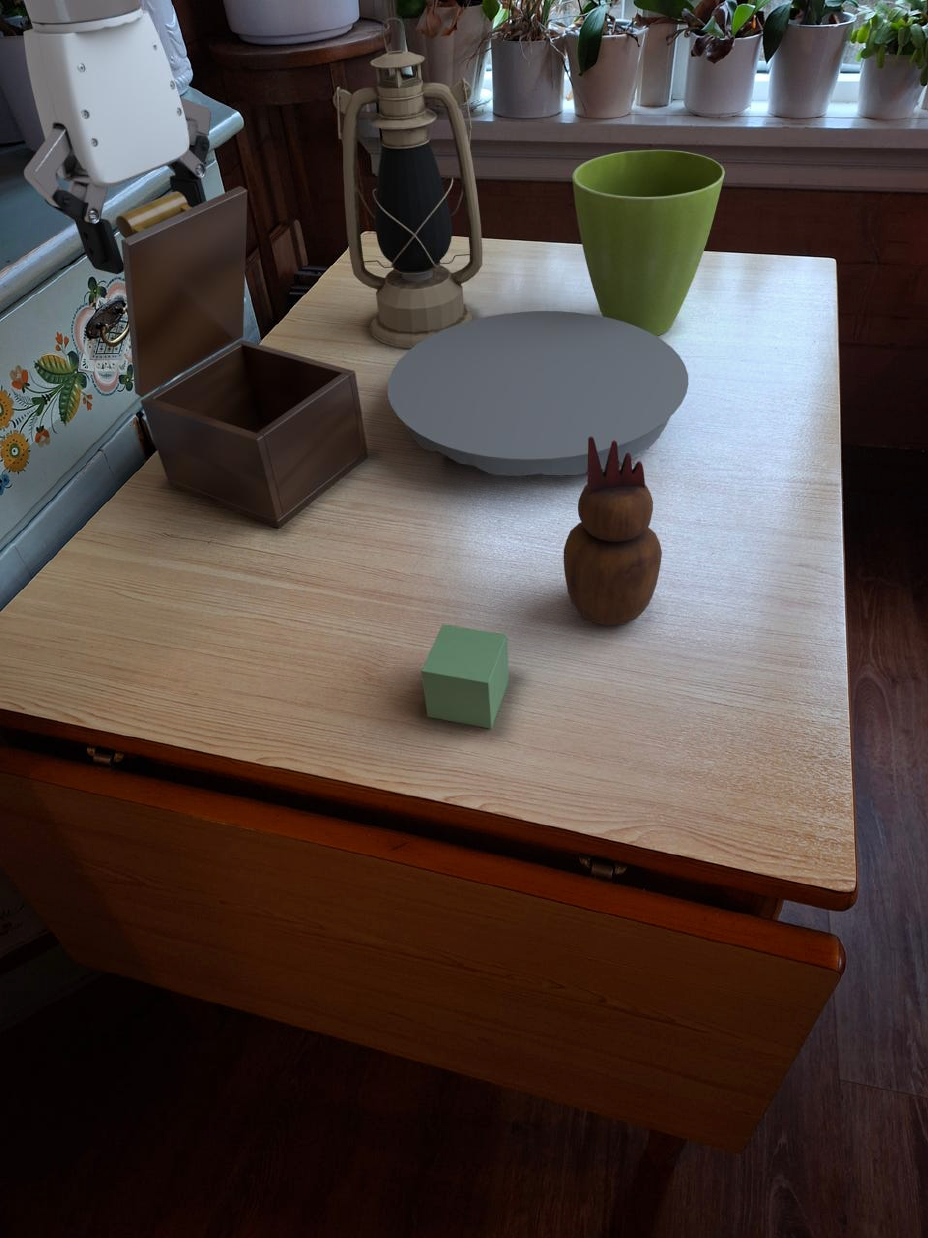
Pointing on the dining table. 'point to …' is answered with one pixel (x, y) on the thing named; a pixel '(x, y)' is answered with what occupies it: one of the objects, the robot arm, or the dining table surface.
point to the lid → (183, 282)
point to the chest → (258, 430)
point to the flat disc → (537, 391)
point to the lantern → (410, 202)
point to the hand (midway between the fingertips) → (155, 248)
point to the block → (466, 676)
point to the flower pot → (645, 230)
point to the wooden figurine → (612, 543)
